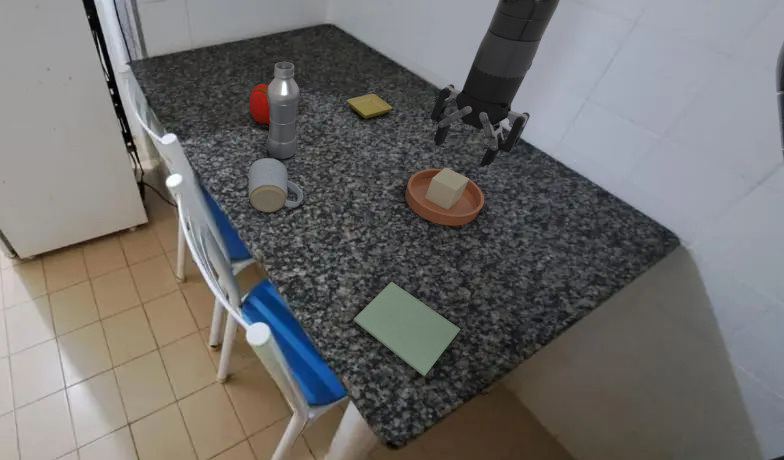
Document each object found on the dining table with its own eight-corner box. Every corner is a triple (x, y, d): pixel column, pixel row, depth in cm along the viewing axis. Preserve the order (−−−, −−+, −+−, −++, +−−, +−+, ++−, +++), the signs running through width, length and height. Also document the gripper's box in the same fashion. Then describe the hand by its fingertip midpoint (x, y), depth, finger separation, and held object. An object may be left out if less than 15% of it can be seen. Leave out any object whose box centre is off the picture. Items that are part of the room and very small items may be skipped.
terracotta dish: (491, 201, 78) (496, 191, 76) (457, 237, 71) (462, 227, 69) (427, 169, 85) (431, 160, 83) (391, 199, 78) (393, 190, 76)
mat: (459, 330, 58) (460, 329, 57) (424, 376, 53) (425, 375, 52) (390, 283, 64) (391, 281, 63) (353, 320, 59) (353, 318, 58)
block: (460, 198, 77) (469, 178, 74) (447, 210, 75) (456, 190, 71) (437, 186, 80) (445, 167, 76) (424, 197, 77) (432, 178, 74)
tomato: (283, 136, 93) (284, 102, 87) (241, 126, 96) (239, 93, 89) (297, 115, 100) (299, 82, 93) (258, 106, 102) (257, 74, 96)
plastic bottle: (296, 162, 86) (303, 73, 71) (266, 162, 86) (266, 73, 71) (296, 146, 90) (301, 58, 76) (266, 145, 90) (267, 58, 76)
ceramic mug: (248, 215, 74) (248, 184, 68) (249, 187, 80) (248, 156, 74) (304, 215, 74) (308, 184, 69) (300, 187, 80) (304, 156, 74)
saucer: (363, 122, 98) (365, 115, 96) (344, 106, 103) (345, 99, 102) (391, 115, 100) (393, 107, 99) (371, 100, 106) (373, 92, 104)
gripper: (444, 56, 60) (414, 145, 71) (540, 89, 53) (490, 182, 65) (467, 43, 63) (435, 130, 75) (560, 72, 56) (508, 163, 68)
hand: (460, 154), depth 70 cm, fingers open, 8 cm apart
